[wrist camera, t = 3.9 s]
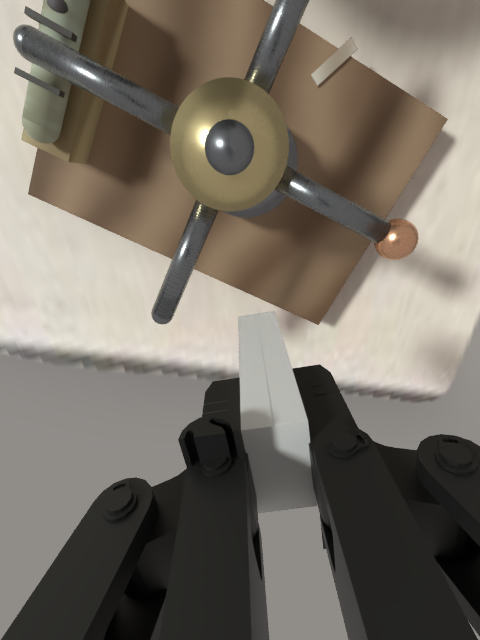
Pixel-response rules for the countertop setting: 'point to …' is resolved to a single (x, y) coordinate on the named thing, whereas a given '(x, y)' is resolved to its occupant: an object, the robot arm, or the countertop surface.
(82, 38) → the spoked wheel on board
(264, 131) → the cam capstan
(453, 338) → the countertop surface
